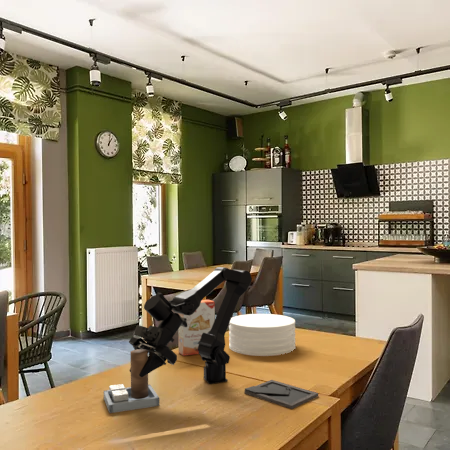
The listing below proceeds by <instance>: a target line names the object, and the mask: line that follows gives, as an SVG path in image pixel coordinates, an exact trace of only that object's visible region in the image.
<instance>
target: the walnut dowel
mask: <svg viewBox="0 0 450 450" xmlns="http://www.w3.org/2000/svg"><path fill="white" fill-rule="evenodd" d="M129 355H130V368H131V372H130V387H131V397H132V398H134V399H143V398H146V397H148V385H149V373H148V374H147V375H145V376H143V377H140V376H139V374H140V372H141V370H142V368H143V367H144V365H145V363H146V362H147V360H148V356H149V353H148V350H145V349H137V350H134V349H133V350H131V351H130V354H129Z"/></svg>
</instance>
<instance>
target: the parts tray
mask: <svg viewBox="0 0 450 450" xmlns="http://www.w3.org/2000/svg"><path fill="white" fill-rule="evenodd" d="M125 389H126V390H127V392H128V401H125V402H118V403H112V401H111V399H110V396H109V389H107V390H103V401H104V402H105V405H106V408H107V411H108V414H112V413H113V414H114V413H121V412H128V411H134V410H139V409H145V408H151V407H152V408H154V407H158V406H160V396H159V395H158V394H157V392H156V390H155V389H154V387H152V385H151V384H148V397H146V398H143V399H134V398H132V397H131V386H130V387H128V386H127V387H125Z"/></svg>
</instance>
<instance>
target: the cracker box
mask: <svg viewBox="0 0 450 450" xmlns="http://www.w3.org/2000/svg"><path fill="white" fill-rule="evenodd" d="M215 305H216V304H215V301H214V300H210V299H202V301H201V303H200V306H199V307H198V309H197V310H196V311H195V312H194V313H193V314H192V315H184V314H179V313H178V314H179V315H180V316H181V317H183V318H186V319H187V327H183V326H180V327H179V329H178V330H177V332H178V334H177V335H178V340H177V341H178V342H177V343H178V349H177V350H178V353H179V354H180V355H182V356H183V357H185V356H191V355H200V354H199V351H198V346H199V344H198V342H199V341H200V339H201V336H202V334H203V333H208V332H209V331H210V330H211V328H212V326H213V323H214V321H215V319H216V317H215V313H216V312H215V311H216V310H215V307H216V306H215Z"/></svg>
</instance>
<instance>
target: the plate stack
mask: <svg viewBox="0 0 450 450" xmlns="http://www.w3.org/2000/svg"><path fill="white" fill-rule="evenodd" d="M228 330H229V332H228V336H229V337H228V342H229V343H228V344H229V345H228V346H229V349H230V350H231V351H233V352H235V353H237V354H241V355H246V356H253V357H255V356H256V357H257V356H258V357H259V356H260V357H269V356H271V357H274V356H280V355H281V354H282V355H286V354H288V353H291V351H292V352H293V350H294V349H295V350H296V320H295V319H294V318H293V317H292V316H291V317H290V316H287V315H282V314H276V313H275V314H272V313H247V314H240V315H236V316H232V318H231V320H230V323H229V325H228ZM295 350H294V351H295ZM285 353H286V354H285Z"/></svg>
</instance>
